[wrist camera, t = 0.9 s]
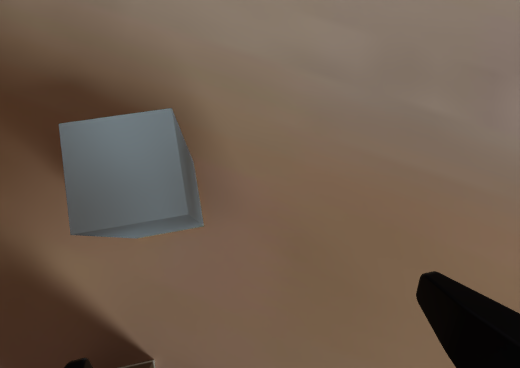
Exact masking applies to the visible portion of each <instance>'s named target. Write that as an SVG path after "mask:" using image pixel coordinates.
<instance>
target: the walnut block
mask: <svg viewBox="0 0 520 368" xmlns="http://www.w3.org/2000/svg"><path fill="white" fill-rule="evenodd" d="M119 368H155V362H154V360H151V361H146V362H142V363H137V364H133V365H128V366H124V367H119Z"/></svg>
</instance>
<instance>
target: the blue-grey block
mask: <svg viewBox="0 0 520 368" xmlns="http://www.w3.org/2000/svg"><path fill="white" fill-rule="evenodd" d="M59 131H60V140H61V149H62V159H63V168H64V177H65V187H66V196H67V205H68V215H69V224H70V233H71V235H82V236H101V237H121V238H143V237H148V236H154V235H159V234H165V233H171V232H176V231H182V230H187V229H193V228H198V227H204V222H203V216H202V210H201V203H200V197H199V191H198V185H197V179H196V173H195V166H194V162H193V160H192V157H191V155H190V152H189V150H188V147H187V145H186V142H185V140H184V137H183V135H182V132H181V130H180V127H179V125H178V122H177V120H176V118H175V115H174V113H173V110H172V108H168V109H161V110H154V111H146V112H139V113H132V114H125V115H118V116H111V117H103V118H96V119H89V120H82V121H75V122H67V123H60V124H59Z"/></svg>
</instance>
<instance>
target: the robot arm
mask: <svg viewBox="0 0 520 368" xmlns="http://www.w3.org/2000/svg"><path fill="white" fill-rule="evenodd" d="M416 297H417V301H418V303H419V305H420V307H421V309H422V310H423V312H424V314H425V316H426V318H427V319H428V321H429V323H430V325H431V327H432V328H433V330H434V332H435V334H436V336H437V338H438V339H439V341H440V343H441V345H442V346H443V348H444V350H445V351H446V353H447V355H448V356H449V358H450V359H451V361H452V362H453V364H454V365H455V367H456V368H520V314H519V313H517V312H515V311H514V310H512V309H510V308H508V307H506V306H504V305H502V304H500V303H498V302H496V301H494V300H492V299H490V298H488V297H486V296H484V295H482V294H480V293H478V292H476V291H474V290H472V289H470V288H468V287H466V286H464V285H462V284H460V283H458V282H456V281H454V280H452V279H450V278H448V277H447V276H445V275H443V274H441V273H438V272H435V271H433V272H428V273H424V274H422V275H421V277H420V280H419V284H418V288H417V293H416ZM64 368H93V367H92V365H91V363H90V361H89V360H88V359H87V358H82V359H78V360H74V361H71V362H69V363H68V364H67V365H66V366H65V367H64Z"/></svg>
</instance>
